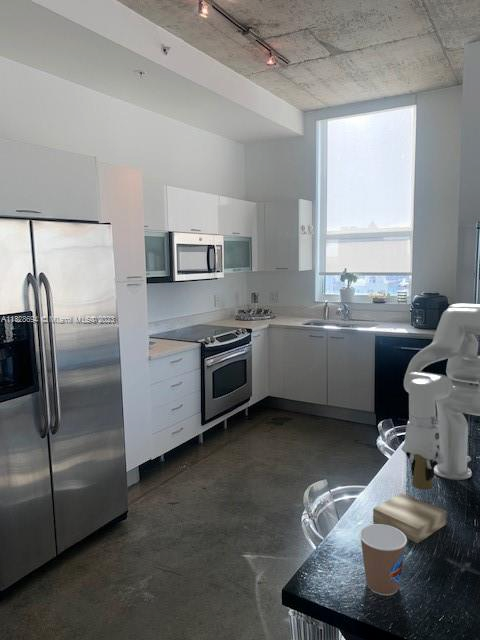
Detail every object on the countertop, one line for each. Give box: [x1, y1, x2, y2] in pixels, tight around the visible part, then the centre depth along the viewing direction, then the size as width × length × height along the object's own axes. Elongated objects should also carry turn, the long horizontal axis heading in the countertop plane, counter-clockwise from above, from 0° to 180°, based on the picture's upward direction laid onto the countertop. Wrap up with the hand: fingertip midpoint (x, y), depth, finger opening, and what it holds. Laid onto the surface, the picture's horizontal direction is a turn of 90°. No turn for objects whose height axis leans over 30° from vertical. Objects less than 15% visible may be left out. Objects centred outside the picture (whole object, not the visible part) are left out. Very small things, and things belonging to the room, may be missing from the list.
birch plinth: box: [372, 492, 447, 544], centre depth 135 cm, size 14×14×4 cm
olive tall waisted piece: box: [411, 454, 434, 491], centre depth 147 cm, size 6×6×11 cm
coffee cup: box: [358, 523, 408, 596], centre depth 109 cm, size 10×10×12 cm
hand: (422, 476), depth 148 cm, fingers closed on olive tall waisted piece, 4 cm apart
